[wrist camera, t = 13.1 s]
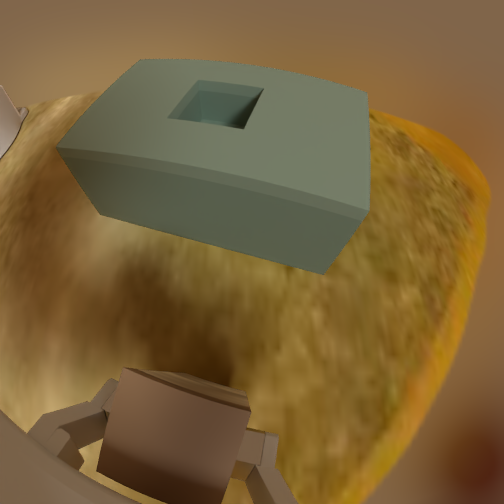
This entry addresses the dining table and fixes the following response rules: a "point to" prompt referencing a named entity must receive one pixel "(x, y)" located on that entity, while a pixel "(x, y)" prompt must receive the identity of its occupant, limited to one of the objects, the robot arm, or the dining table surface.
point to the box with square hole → (229, 157)
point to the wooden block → (173, 436)
